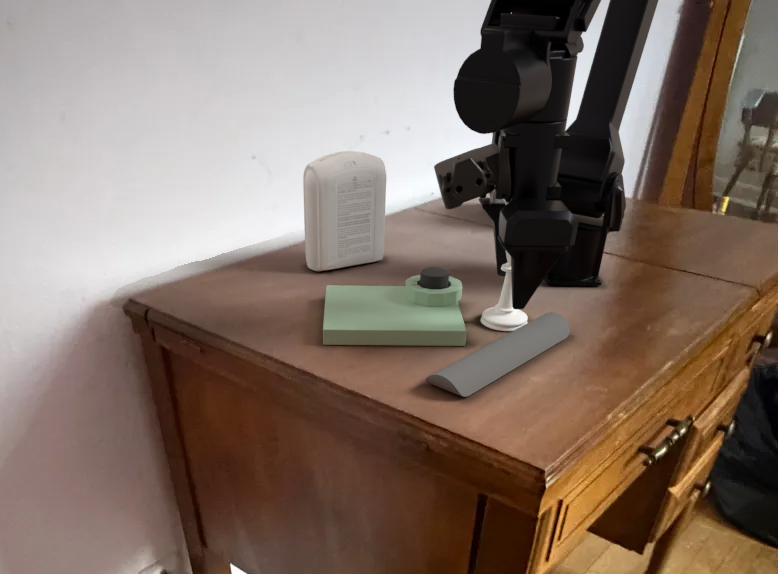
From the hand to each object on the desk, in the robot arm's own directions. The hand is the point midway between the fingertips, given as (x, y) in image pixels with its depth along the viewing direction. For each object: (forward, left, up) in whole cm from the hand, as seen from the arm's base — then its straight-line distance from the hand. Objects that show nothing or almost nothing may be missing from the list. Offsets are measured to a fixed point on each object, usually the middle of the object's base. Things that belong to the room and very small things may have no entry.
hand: (509, 291), depth 74 cm
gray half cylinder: (+2, +9, -4) cm, 10 cm away
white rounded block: (+17, -18, -4) cm, 25 cm away
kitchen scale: (+12, 0, -3) cm, 12 cm away
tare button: (+8, -3, -1) cm, 8 cm away
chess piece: (0, 0, -4) cm, 4 cm away
